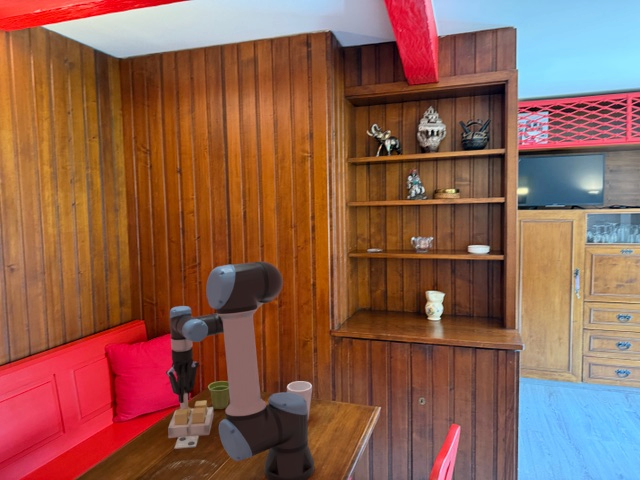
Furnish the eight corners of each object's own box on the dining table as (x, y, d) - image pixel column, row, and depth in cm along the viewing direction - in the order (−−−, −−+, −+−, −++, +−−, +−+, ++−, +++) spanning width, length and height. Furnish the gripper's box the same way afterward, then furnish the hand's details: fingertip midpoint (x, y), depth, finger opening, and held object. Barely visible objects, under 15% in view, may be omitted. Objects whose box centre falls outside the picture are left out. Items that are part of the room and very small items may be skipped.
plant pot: (225, 399, 183) (225, 379, 182) (236, 406, 176) (236, 386, 175) (204, 405, 177) (204, 385, 176) (215, 414, 170) (214, 392, 169)
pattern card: (195, 447, 147) (195, 445, 146) (174, 449, 146) (174, 447, 146) (198, 436, 153) (198, 434, 153) (178, 438, 153) (178, 436, 152)
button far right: (205, 415, 162) (205, 405, 161) (194, 416, 161) (194, 405, 161) (207, 410, 166) (206, 400, 165) (196, 411, 165) (196, 401, 165)
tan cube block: (189, 422, 161) (189, 412, 161) (178, 423, 161) (178, 413, 160) (191, 417, 165) (190, 407, 165) (180, 418, 165) (180, 408, 164)
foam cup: (309, 426, 159) (309, 392, 158) (285, 424, 161) (284, 390, 160) (314, 414, 169) (313, 381, 168) (291, 412, 170) (290, 380, 169)
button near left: (186, 424, 155) (186, 414, 155) (175, 425, 155) (174, 414, 154) (188, 419, 159) (188, 408, 159) (177, 420, 158) (176, 409, 158)
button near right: (203, 423, 156) (203, 412, 156) (192, 424, 155) (191, 413, 155) (205, 418, 160) (204, 407, 159) (194, 418, 159) (193, 408, 159)
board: (209, 434, 154) (208, 425, 154) (168, 438, 153) (167, 428, 152) (213, 415, 168) (213, 406, 168) (176, 418, 166) (175, 409, 166)
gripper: (190, 341, 168) (192, 400, 170) (160, 351, 158) (163, 413, 160) (202, 345, 164) (205, 405, 166) (172, 355, 153) (175, 419, 155)
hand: (184, 409), depth 163 cm, fingers closed
